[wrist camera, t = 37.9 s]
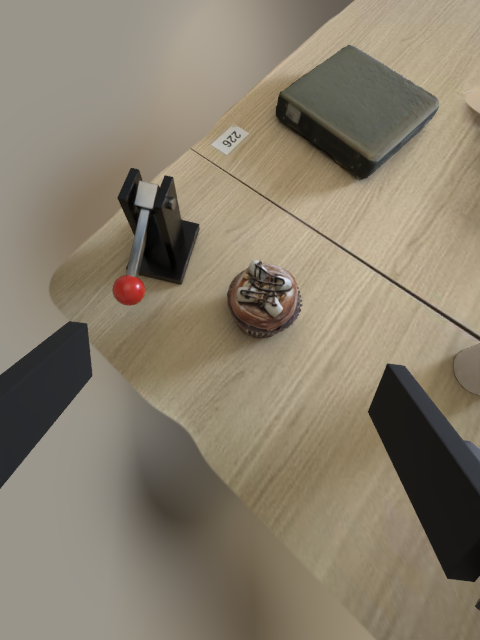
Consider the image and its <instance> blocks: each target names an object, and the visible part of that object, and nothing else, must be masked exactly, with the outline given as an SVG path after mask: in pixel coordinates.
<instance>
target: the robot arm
mask: <svg viewBox="0 0 480 640" xmlns="http://www.w3.org/2000/svg"><path fill="white" fill-rule="evenodd" d="M91 377H92V367H91V357H90V347H89V337H88V327H87V324H86V323H79V322H71V321H69V322H68V323H67V324H65V325H64V326H63V327H61V328H60V329H59V330H58V331H56V332H55V333H54V334H52V335H51V336H50V337H49V338H47V339H46V340H45V341H43V342H42V343H41V344H40V345H38V346H37V347H36V348H34V349H33V350H32V351H31V352H29V353H28V354H27V355H26V356H24V357H23V358H22V359H20V360H19V361H18V362H16V363H15V364H14V365H13V366H11V367H10V368H9V369H7V371H5V372H4V373H2V374H1V375H0V488H1V487H2V486H3V485H4V483H5V482H6V481H7V480H8V479H9V477H10V476H11V475H12V474H13V472H14V471H15V470H16V468H18V466H19V465H20V464H21V463H22V461H23V460H24V459H25V458H26V457H27V455H28V454H29V453H30V451H31V450H32V449H33V448H34V447H35V445H36V444H37V443H38V442H39V441H40V439H41V438H42V437H43V436H44V434H45V433H46V432H47V431H48V429H49V428H50V427H51V426H52V425H53V423H54V422H55V421H56V420H57V419H58V417H59V416H60V415H61V414H62V412H63V411H64V410H65V409H66V408H67V406H68V405H69V404H70V403H71V401H72V400H73V399H74V398H75V397H76V395H77V394H78V393H79V392H80V390H81V389H82V388H83V387H84V385H85V384H86V383H87V382H88V380H89V379H90V378H91ZM368 413H369V415H370V417H371V419H372V421H373V423H374V426H375V428H376V430H377V432H378V434H379V436H380V438H381V440H382V442H383V444H384V447H385V449H386V451H387V453H388V455H389V457H390V459H391V461H392V463H393V465H394V468H395V470H396V472H397V474H398V476H399V478H400V480H401V482H402V484H403V486H404V489H405V491H406V493H407V495H408V497H409V499H410V501H411V503H412V505H413V507H414V510H415V512H416V514H417V516H418V518H419V520H420V522H421V524H422V526H423V528H424V530H425V533H426V535H427V537H428V539H429V541H430V543H431V545H432V547H433V549H434V551H435V554H436V556H437V558H438V560H439V562H440V564H441V566H442V568H443V570H444V572H445V575H446V577H447V579H455V580H463V581H471V582H475V581H476V580H477V578H478V577H479V576H480V449H479V448H478V447H476V446H475V445H474V444H473V443H471V442H470V441H463V440H462V438H461V437H460V436H459V435H458V433H457V432H456V431H455V429H454V428H453V427H452V426H451V424H450V423H449V422H448V420H447V419H446V418H445V417H444V415H443V414H442V413H441V412H440V410H439V409H438V408H437V406H436V405H435V404H434V403H433V401H432V400H431V399H430V398H429V396H428V395H427V394H426V392H425V391H424V390H423V389H422V387H421V386H420V385H419V384H418V382H417V381H416V380H415V378H414V377H413V376H412V375H411V373H410V372H409V371H408V370H407V368H406V367H405V366H402V365H395V364H387V365H386V368H385V371H384V373H383V376H382V378H381V381H380V383H379V386H378V388H377V391H376V393H375V396H374V398H373V401H372V403H371V406H370V408H369V411H368ZM475 607H476V608H477V609H479V610H480V599H479V600H478V602H477V603H476V605H475Z"/></svg>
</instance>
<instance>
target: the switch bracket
mask: <svg viewBox="0 0 480 640" xmlns="http://www.w3.org/2000/svg"><path fill="white" fill-rule="evenodd" d="M139 181H142V177H141V175H140V171H139V170H138V169H134V168H131V169H130V171H129V173H128V176H127V178H126V180H125V182H124V184H123V187H122V189H121V191H120V194H119V196H118V200H119V202H120V204H121V207H122V209H123V211H124V213H125V216H126V218H127V220H128V222H129V225H130V227H131V229H132V231H133V234H134V236H135V233H136V228H137V224H138V219H139V215H140V210H139V209H138V208H137V207H136V206H135V205H134V203H135V198H136V194H137V189H138V185H139ZM153 208H154V211H155V215H154V214H152V216H151V221H150V225H149V230H148V234H147V239H146V243H145V248H144V252H143V257H142V262H141V266H140V271H139V275H142V276H146V277H151V278H155V279H159V280H164V281H168V282H172V283H177V284H182V282H183V278H184V275H185V272H186V269H187V266H188V263H189V260H190V257H191V254H192V250H193V247H194V244H195V241H196V238H197V235H198V232H199V224H197V223H192V222H188V221H184V220H181V216H180V211H179V206H178V201H177V195H176V190H175V185H174V179H173V177H170V176H164V179H163V181H162V184H161V186H160V189H159V191H158V194H157V197H156V199H155V202H154V204H153ZM128 265H129V263H128ZM128 265H127V268H126V269H128Z"/></svg>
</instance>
